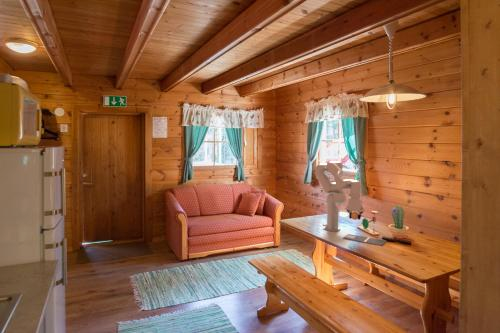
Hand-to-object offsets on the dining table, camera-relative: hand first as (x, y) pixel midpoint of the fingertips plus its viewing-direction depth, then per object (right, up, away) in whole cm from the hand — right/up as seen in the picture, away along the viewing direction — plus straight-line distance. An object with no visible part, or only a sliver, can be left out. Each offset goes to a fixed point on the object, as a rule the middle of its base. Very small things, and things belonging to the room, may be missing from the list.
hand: (354, 218), depth 265 cm
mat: (+6, -16, -2) cm, 18 cm away
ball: (0, +2, 0) cm, 2 cm away
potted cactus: (+37, -16, +7) cm, 41 cm away
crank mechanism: (+18, -14, +21) cm, 31 cm away
